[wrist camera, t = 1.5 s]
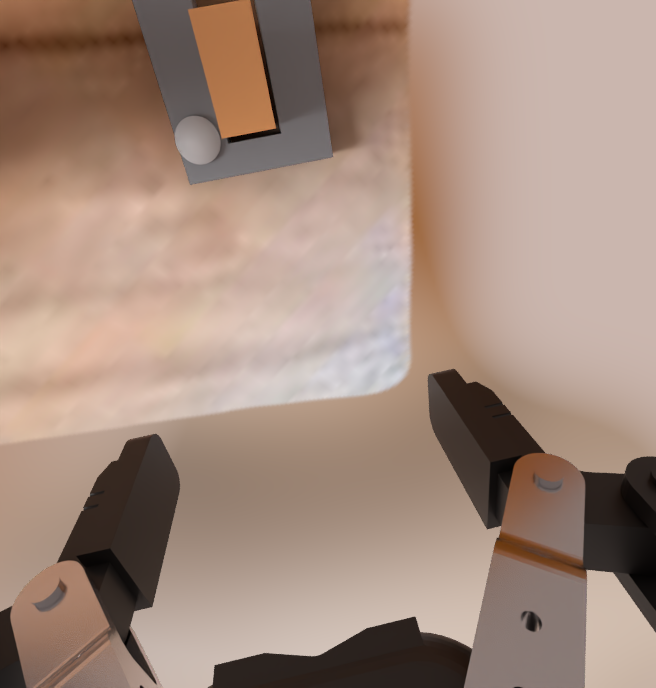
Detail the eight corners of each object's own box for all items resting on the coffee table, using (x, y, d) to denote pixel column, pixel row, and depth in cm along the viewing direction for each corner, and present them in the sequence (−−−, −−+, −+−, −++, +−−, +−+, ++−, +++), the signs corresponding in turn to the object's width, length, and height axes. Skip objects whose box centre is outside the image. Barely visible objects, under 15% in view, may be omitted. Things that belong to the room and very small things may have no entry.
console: (196, 179, 30) (188, 185, 27) (87, -181, 21) (56, -232, 18) (327, 154, 30) (334, 157, 27) (272, -210, 22) (273, -266, 18)
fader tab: (235, 135, 29) (221, 138, 20) (213, 46, 26) (187, 9, 18) (273, 127, 29) (275, 128, 20) (255, 38, 26) (249, -2, 18)
